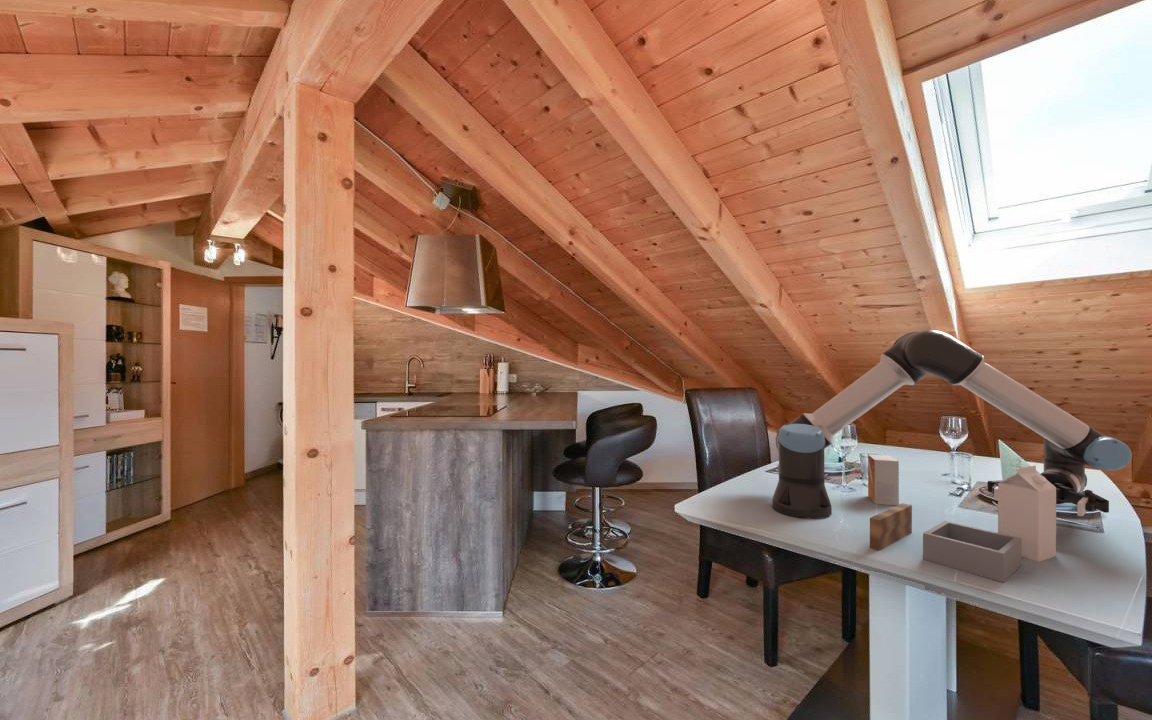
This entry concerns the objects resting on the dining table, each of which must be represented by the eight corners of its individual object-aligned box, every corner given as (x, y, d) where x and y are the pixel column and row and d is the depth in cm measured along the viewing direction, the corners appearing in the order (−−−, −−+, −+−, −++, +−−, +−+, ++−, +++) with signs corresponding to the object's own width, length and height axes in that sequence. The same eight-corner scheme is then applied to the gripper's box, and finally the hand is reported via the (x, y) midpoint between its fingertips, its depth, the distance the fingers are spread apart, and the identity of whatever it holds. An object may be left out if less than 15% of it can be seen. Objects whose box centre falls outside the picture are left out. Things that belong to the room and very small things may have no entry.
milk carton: (997, 550, 106) (997, 465, 106) (1015, 545, 108) (1015, 462, 108) (1038, 563, 99) (1039, 472, 99) (1056, 557, 102) (1056, 469, 102)
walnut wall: (879, 551, 105) (879, 520, 105) (869, 548, 107) (869, 517, 107) (911, 533, 115) (911, 505, 115) (902, 531, 117) (902, 503, 117)
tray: (1003, 582, 90) (1003, 553, 90) (922, 559, 100) (923, 533, 100) (1021, 564, 98) (1021, 538, 98) (944, 544, 108) (944, 520, 108)
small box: (867, 496, 147) (867, 454, 147) (891, 498, 145) (891, 455, 145) (874, 503, 139) (874, 459, 139) (899, 506, 137) (899, 461, 137)
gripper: (1132, 514, 108) (1120, 535, 96) (990, 489, 128) (965, 504, 116) (1132, 481, 108) (1120, 498, 96) (991, 462, 128) (965, 473, 116)
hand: (1035, 501), depth 106 cm, fingers open, 13 cm apart
